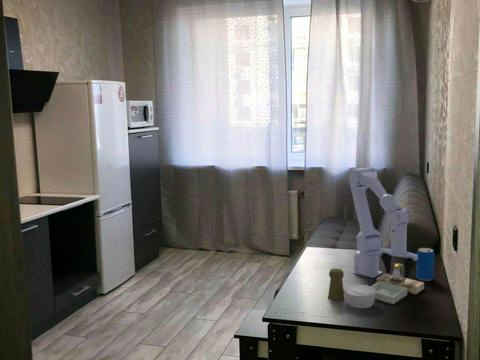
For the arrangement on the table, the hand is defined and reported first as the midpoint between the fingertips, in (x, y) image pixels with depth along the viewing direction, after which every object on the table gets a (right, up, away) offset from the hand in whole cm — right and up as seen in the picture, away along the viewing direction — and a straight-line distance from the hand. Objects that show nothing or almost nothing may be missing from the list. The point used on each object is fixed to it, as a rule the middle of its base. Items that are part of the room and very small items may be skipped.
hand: (397, 274), depth 198 cm
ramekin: (-18, -8, -15) cm, 25 cm away
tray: (-7, -6, -8) cm, 12 cm away
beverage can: (+13, -3, +8) cm, 16 cm away
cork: (-26, -7, -10) cm, 28 cm away
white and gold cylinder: (0, -5, +1) cm, 5 cm away
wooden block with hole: (+1, -5, 0) cm, 5 cm away
